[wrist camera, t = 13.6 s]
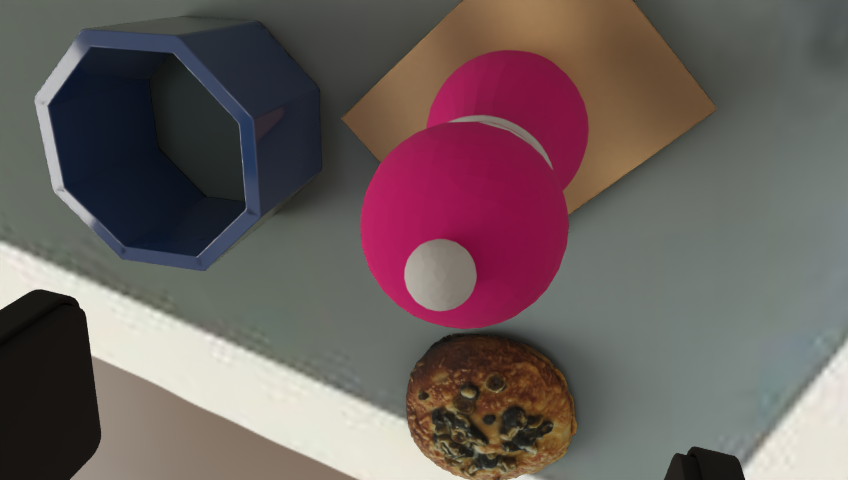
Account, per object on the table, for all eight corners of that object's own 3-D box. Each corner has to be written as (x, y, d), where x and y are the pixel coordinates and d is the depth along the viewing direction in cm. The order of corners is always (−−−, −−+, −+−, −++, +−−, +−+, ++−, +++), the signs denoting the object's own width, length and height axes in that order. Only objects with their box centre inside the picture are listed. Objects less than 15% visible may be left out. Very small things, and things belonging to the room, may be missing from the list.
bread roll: (460, 295, 39) (453, 348, 34) (610, 378, 40) (621, 438, 36) (376, 405, 44) (361, 463, 40) (512, 474, 46) (511, 537, 41)
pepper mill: (602, 51, 31) (628, 172, 13) (571, 192, 34) (556, 448, 16) (456, 30, 32) (292, 113, 14) (438, 167, 35) (284, 381, 17)
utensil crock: (215, -29, 35) (120, -27, 28) (360, 133, 36) (305, 175, 29) (107, 109, 40) (2, 141, 32) (239, 246, 41) (167, 306, 34)
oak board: (560, -93, 30) (559, -95, 29) (713, 104, 32) (717, 109, 31) (347, 114, 36) (340, 118, 35) (485, 268, 38) (482, 277, 37)
